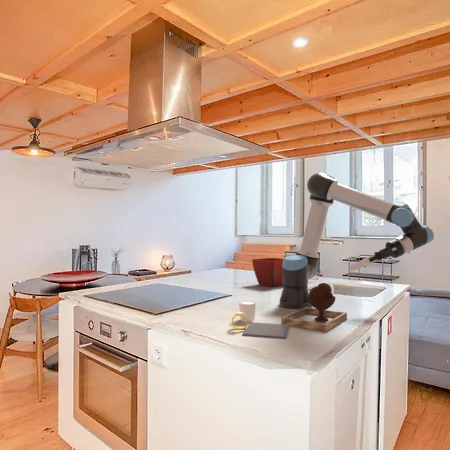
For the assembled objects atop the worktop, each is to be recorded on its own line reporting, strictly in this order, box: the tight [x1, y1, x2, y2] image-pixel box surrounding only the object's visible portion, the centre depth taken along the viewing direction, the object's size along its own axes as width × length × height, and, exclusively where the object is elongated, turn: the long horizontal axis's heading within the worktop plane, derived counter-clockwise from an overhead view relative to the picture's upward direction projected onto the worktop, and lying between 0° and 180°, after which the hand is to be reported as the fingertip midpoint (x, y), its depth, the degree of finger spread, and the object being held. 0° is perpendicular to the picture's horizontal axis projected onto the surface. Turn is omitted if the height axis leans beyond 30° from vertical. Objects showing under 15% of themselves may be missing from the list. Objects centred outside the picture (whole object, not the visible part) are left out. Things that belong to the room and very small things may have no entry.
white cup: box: [238, 300, 256, 323], centre depth 140 cm, size 7×7×7 cm
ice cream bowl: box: [307, 282, 337, 323], centre depth 138 cm, size 11×11×15 cm
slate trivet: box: [241, 321, 291, 340], centre depth 124 cm, size 15×15×1 cm
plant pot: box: [251, 257, 284, 288], centre depth 225 cm, size 19×19×17 cm
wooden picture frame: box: [280, 307, 348, 333], centre depth 136 cm, size 18×22×2 cm
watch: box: [231, 311, 249, 330], centre depth 127 cm, size 6×3×6 cm, turn 91°
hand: (355, 266), depth 146 cm, fingers open, 13 cm apart
